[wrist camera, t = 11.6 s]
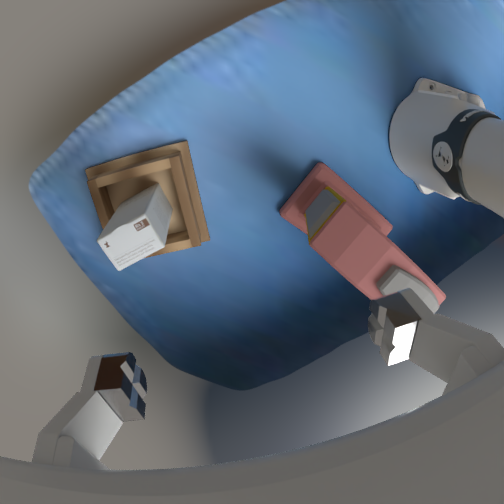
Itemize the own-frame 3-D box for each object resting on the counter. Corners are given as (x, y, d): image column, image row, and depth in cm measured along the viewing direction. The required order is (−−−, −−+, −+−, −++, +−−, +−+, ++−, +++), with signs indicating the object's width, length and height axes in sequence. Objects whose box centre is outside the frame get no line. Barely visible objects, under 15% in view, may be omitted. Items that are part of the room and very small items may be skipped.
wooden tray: (187, 140, 38) (185, 145, 34) (209, 237, 45) (210, 250, 41) (87, 168, 37) (77, 176, 34) (118, 258, 44) (112, 272, 40)
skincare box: (136, 227, 41) (117, 276, 31) (119, 200, 39) (93, 241, 28) (175, 207, 41) (167, 251, 30) (159, 178, 39) (143, 213, 28)
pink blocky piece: (262, 201, 43) (310, 295, 24) (304, 147, 40) (390, 203, 22) (362, 272, 52) (428, 363, 33) (397, 231, 49) (480, 309, 30)
